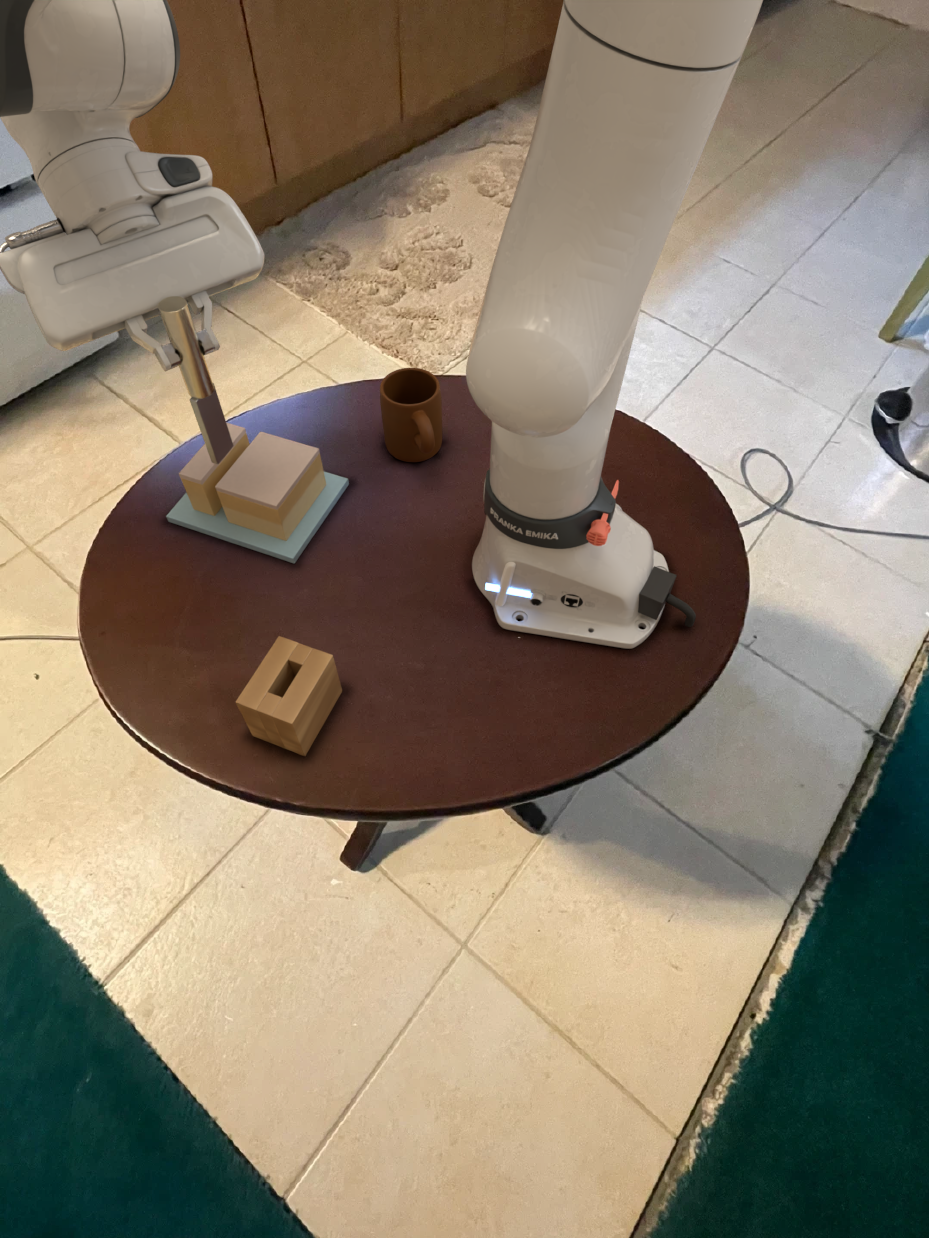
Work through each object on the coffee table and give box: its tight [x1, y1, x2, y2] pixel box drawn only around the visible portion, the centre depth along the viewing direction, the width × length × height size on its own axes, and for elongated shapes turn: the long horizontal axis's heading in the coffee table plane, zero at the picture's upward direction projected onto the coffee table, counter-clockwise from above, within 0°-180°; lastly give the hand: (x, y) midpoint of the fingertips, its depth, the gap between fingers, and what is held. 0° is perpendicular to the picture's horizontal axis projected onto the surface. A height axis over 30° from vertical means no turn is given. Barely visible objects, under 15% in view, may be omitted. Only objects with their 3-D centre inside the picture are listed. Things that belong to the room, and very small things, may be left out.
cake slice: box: [178, 422, 251, 516], centre depth 92 cm, size 3×10×6 cm, turn 158°
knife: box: [158, 296, 234, 464], centre depth 71 cm, size 2×3×17 cm
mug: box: [379, 367, 443, 463], centre depth 96 cm, size 12×8×9 cm, turn 18°
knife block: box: [235, 635, 343, 757], centre depth 75 cm, size 6×8×7 cm
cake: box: [165, 431, 350, 564], centre depth 92 cm, size 18×14×7 cm
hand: (193, 359), depth 68 cm, fingers closed on knife, 2 cm apart
